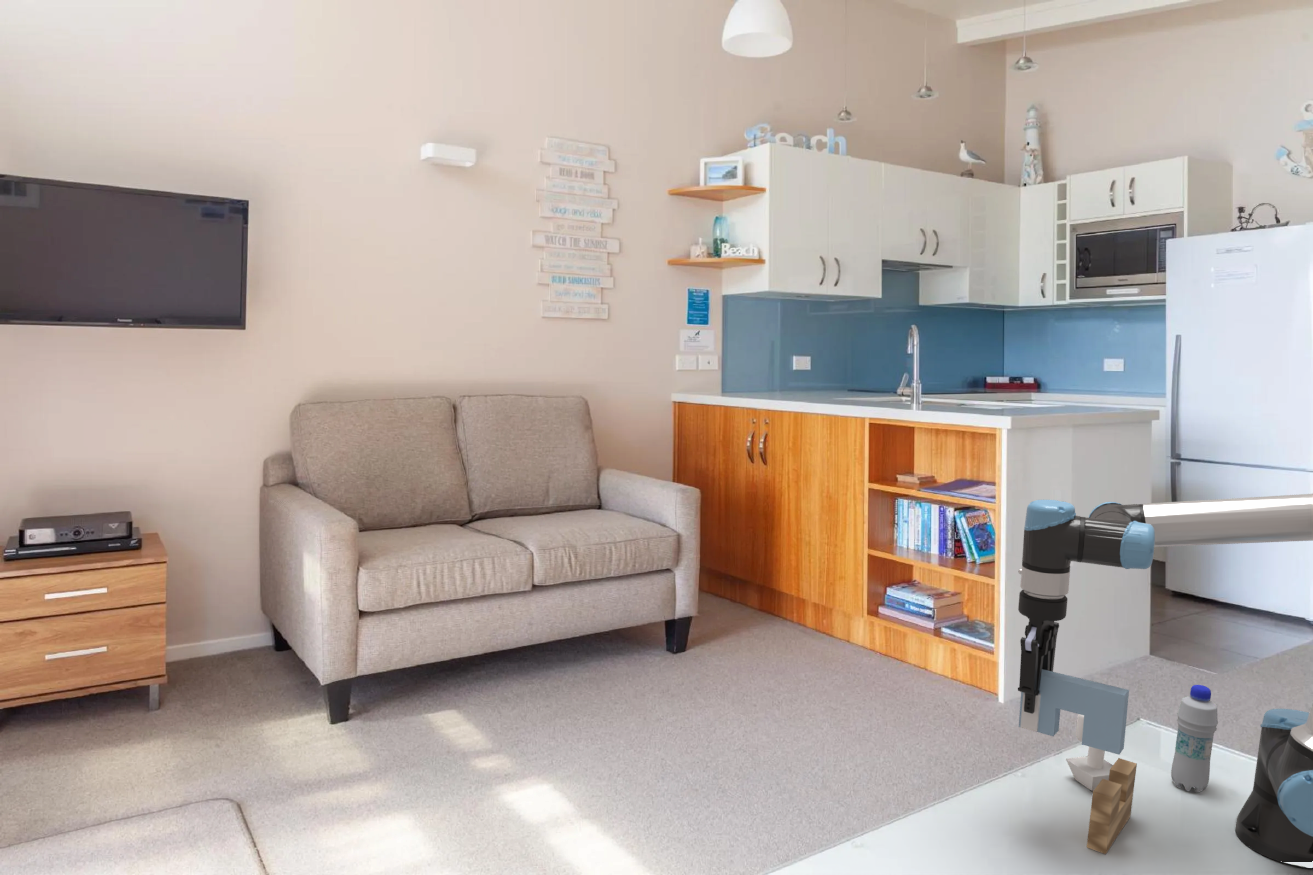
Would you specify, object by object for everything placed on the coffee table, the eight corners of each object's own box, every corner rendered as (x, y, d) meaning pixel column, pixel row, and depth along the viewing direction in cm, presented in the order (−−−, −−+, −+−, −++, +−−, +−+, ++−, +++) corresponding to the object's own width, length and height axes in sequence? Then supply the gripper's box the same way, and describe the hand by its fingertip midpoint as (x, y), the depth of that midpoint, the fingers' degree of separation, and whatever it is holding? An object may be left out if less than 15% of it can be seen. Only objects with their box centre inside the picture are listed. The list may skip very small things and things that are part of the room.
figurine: (1127, 790, 182) (1136, 714, 180) (1085, 796, 180) (1094, 718, 177) (1099, 771, 189) (1107, 698, 187) (1058, 777, 186) (1067, 702, 184)
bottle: (1207, 798, 180) (1221, 696, 177) (1166, 787, 184) (1179, 686, 181) (1209, 784, 186) (1223, 684, 183) (1170, 773, 190) (1183, 675, 187)
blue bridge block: (1123, 748, 159) (1129, 689, 158) (1119, 754, 157) (1124, 695, 156) (1024, 721, 169) (1028, 665, 168) (1018, 726, 167) (1022, 670, 166)
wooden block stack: (1130, 816, 173) (1136, 763, 171) (1105, 854, 161) (1112, 797, 159) (1112, 810, 175) (1118, 757, 173) (1086, 847, 162) (1093, 790, 161)
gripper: (1035, 578, 172) (1025, 704, 175) (1004, 598, 160) (994, 734, 163) (1080, 586, 168) (1069, 716, 171) (1052, 608, 155) (1040, 748, 158)
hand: (1032, 725), depth 167 cm, fingers closed on blue bridge block, 3 cm apart
